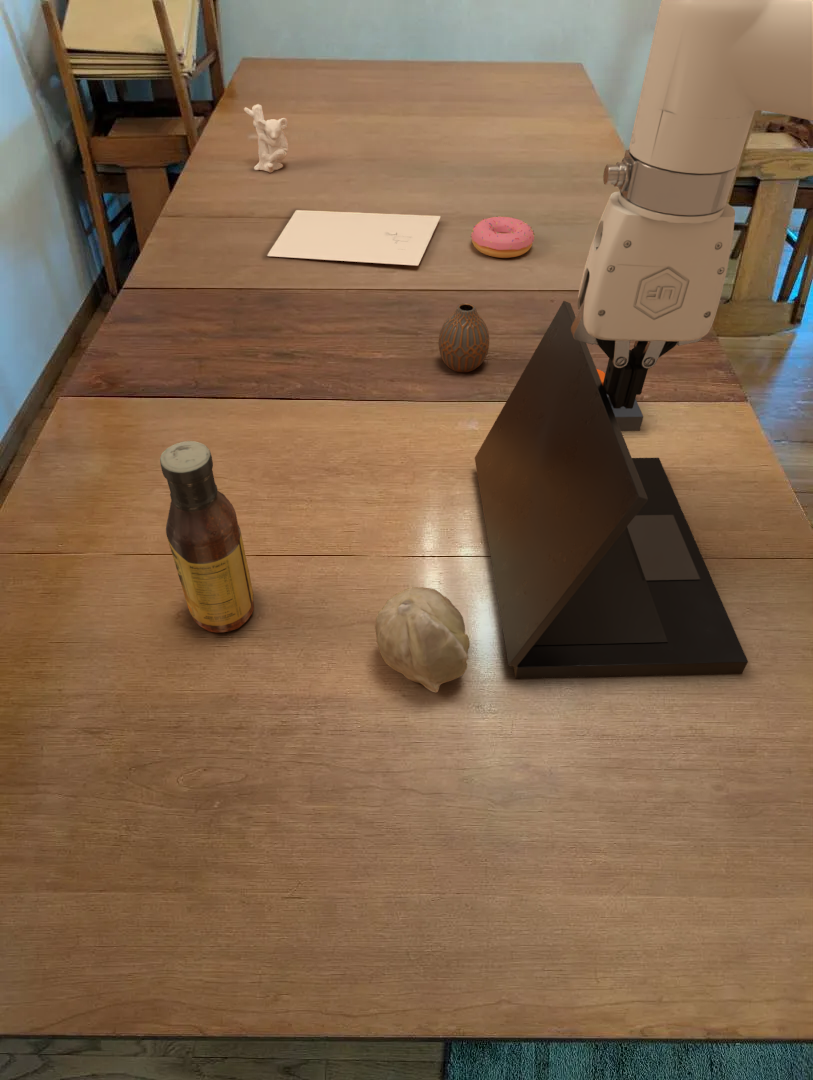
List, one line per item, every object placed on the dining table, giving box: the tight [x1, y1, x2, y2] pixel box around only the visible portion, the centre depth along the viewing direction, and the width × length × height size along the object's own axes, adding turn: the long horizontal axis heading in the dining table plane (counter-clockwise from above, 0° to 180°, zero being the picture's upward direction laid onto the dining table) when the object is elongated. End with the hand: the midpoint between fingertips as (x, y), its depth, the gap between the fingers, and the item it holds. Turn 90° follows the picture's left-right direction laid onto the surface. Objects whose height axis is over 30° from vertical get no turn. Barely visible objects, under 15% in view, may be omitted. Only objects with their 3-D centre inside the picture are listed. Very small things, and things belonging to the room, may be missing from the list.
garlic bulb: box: [374, 586, 470, 693], centre depth 70 cm, size 9×8×10 cm
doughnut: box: [470, 215, 535, 259], centre depth 137 cm, size 11×11×4 cm
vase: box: [438, 302, 490, 373], centre depth 108 cm, size 7×7×9 cm
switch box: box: [606, 394, 644, 432], centre depth 102 cm, size 12×9×4 cm
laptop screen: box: [474, 300, 648, 667], centre depth 75 cm, size 21×30×1 cm
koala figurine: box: [243, 103, 289, 173], centre depth 161 cm, size 8×7×12 cm
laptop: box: [512, 457, 749, 680], centre depth 83 cm, size 21×30×2 cm
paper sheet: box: [266, 209, 442, 266], centre depth 141 cm, size 24×29×1 cm
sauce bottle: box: [159, 440, 255, 633], centre depth 70 cm, size 6×6×20 cm
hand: (618, 399), depth 69 cm, fingers closed
